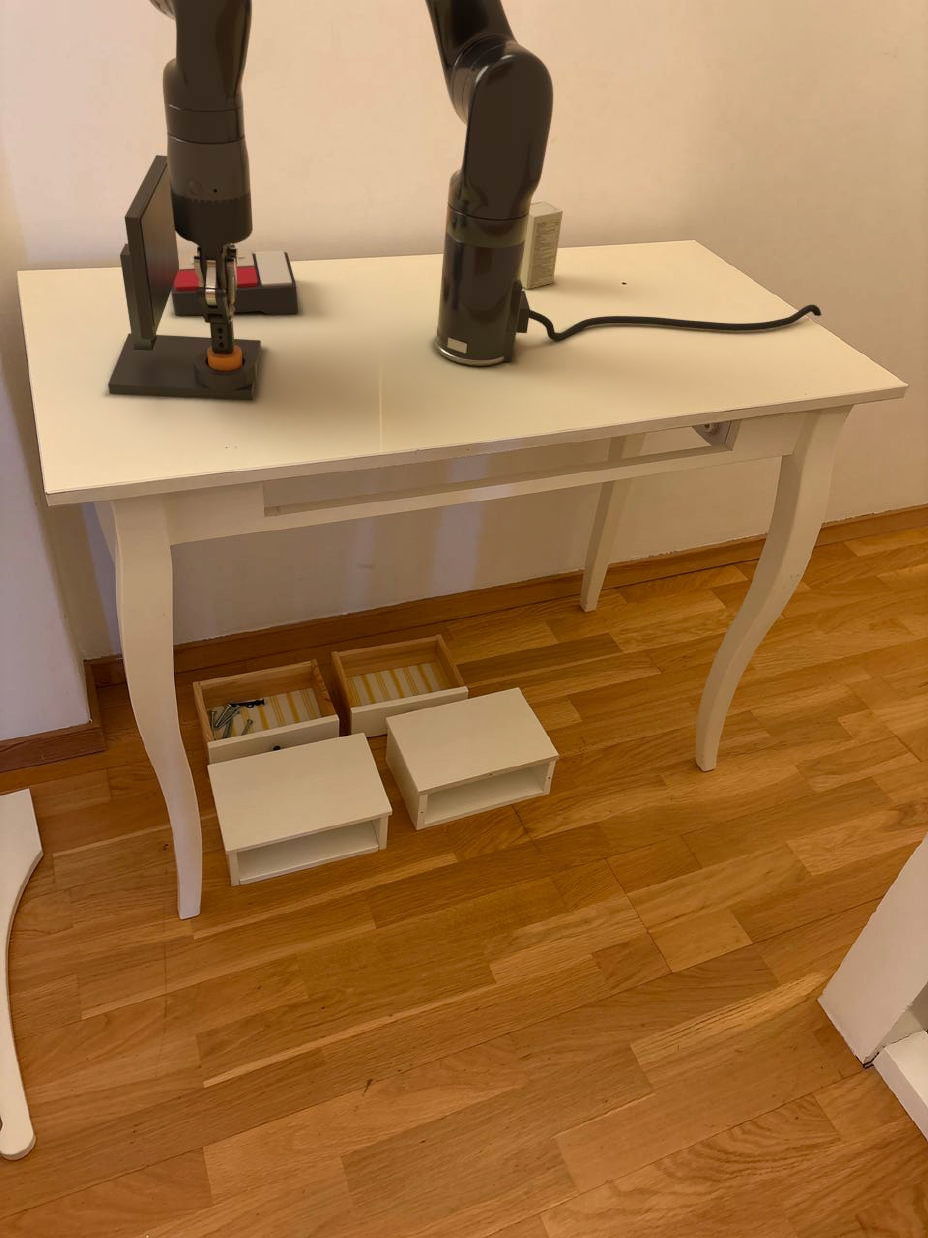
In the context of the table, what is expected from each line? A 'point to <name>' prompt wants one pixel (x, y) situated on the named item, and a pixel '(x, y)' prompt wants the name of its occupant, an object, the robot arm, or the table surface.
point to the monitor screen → (152, 246)
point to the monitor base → (184, 370)
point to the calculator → (243, 284)
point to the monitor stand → (133, 303)
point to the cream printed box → (540, 245)
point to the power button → (225, 359)
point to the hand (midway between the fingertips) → (223, 350)
